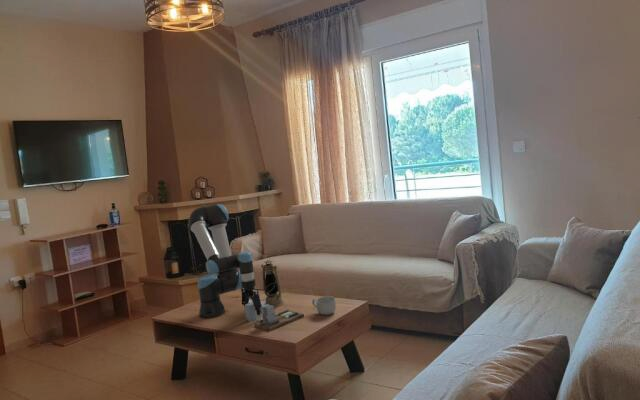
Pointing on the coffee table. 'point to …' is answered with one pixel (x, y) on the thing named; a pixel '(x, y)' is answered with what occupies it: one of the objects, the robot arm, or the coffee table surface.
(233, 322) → the coffee table surface
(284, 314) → the finger rail
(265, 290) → the lantern
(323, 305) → the teacup
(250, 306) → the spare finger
